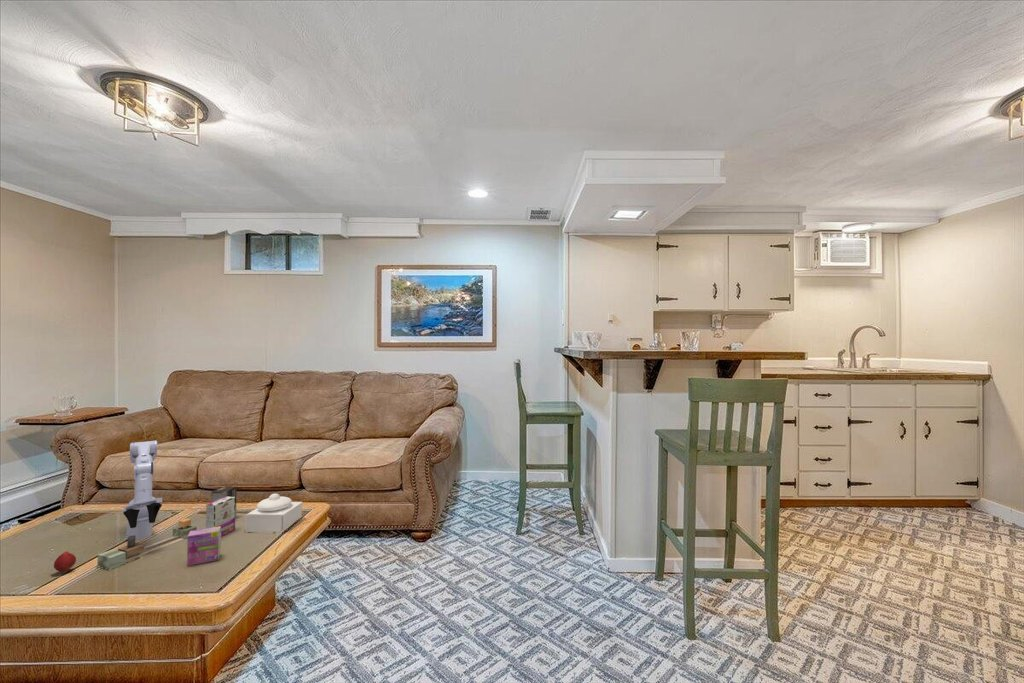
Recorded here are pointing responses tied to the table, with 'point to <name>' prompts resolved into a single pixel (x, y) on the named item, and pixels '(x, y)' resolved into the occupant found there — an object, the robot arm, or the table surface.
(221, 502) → the candy bar box
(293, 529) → the table surface
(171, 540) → the rail stand
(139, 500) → the robot arm
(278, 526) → the butter dish
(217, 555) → the box
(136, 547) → the carriage
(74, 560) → the onion
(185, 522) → the button
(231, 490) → the coffee box
